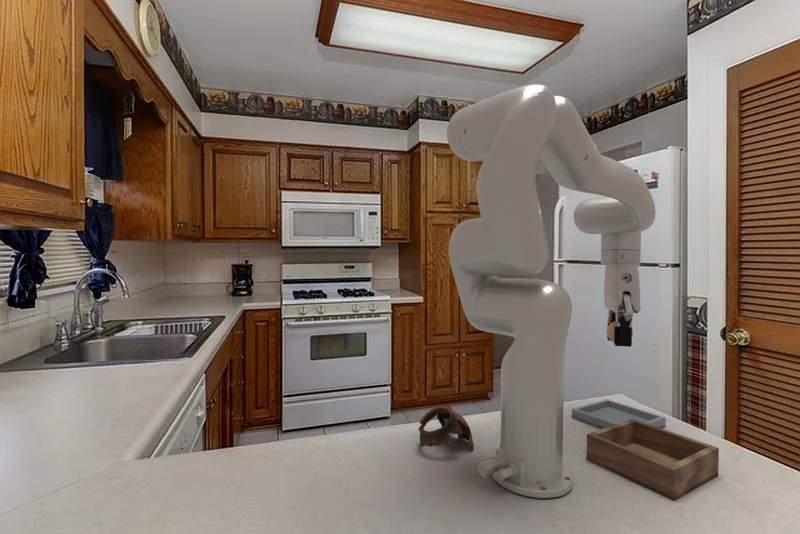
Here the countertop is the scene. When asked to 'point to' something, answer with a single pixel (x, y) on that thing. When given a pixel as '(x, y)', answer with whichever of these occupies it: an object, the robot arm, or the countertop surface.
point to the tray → (614, 414)
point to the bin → (653, 457)
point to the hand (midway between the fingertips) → (619, 342)
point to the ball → (612, 331)
